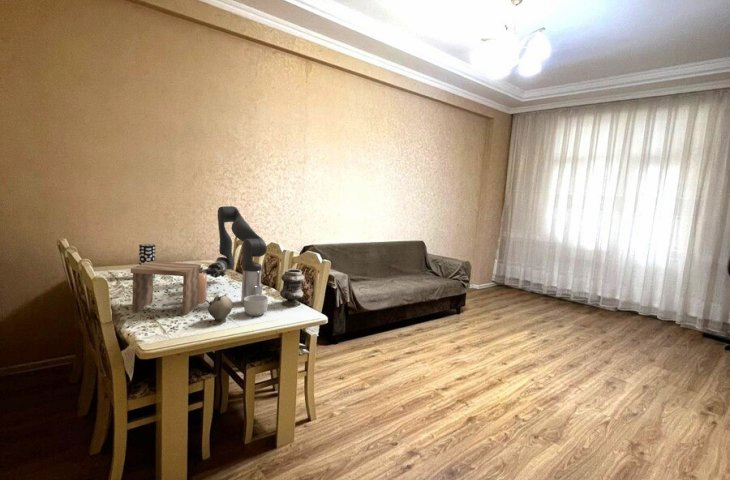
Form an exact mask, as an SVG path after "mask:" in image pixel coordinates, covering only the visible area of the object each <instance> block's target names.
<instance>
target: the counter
mask: <svg viewBox="0 0 730 480" xmlns="http://www.w3.org/2000/svg"><path fill="white" fill-rule="evenodd" d="M201 268H202V264H200V263H189V262H187V263H185V262H169V261H157V260H155V261H150V262H147V263H144V264H141V265H139V264H138V265H137V266H133V267H131V268H130V273H131V274H132V298H131V299H132V302H131V303H132V306H131V308H132V311H131V313H137V312H139V311H140V310H143V309H144V308H146V307H147V306H149V305H151V304H152V303H153V298H154V297H153V295H154V294H153V292H154V279H153V274H155V276H156V275H159V276H174V277H183V278H182V279H183V281H182V282H183V283H182V308H181V310H182V311H181V312H182V313H181V314H182V316H187V314H189V313H190V312H192V310H193V309H195V308H196V307H197V306H198V305H199V303H198V290H199V269H201Z"/></svg>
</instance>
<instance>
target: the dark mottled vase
mask: <svg viewBox="0 0 730 480" xmlns="http://www.w3.org/2000/svg"><path fill="white" fill-rule="evenodd" d="M302 273H303V272H302V270H300V269H297V268H296V269H295V268H288V269H285V271H284V273H283V274H282V275H281V278H280V279H281V280H282V281H283V285H282V289H281V290H280V292H279V295H280V297H281V298H283V299H284V301H283V300H282V302H281V305H282V306H284V307H298V306H301V303H300V301H298V300H299V299H301V298H302V297H303V296H304V292H303V290H302V283H303V282H304V281H305V276H304V275H303V274H302Z"/></svg>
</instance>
